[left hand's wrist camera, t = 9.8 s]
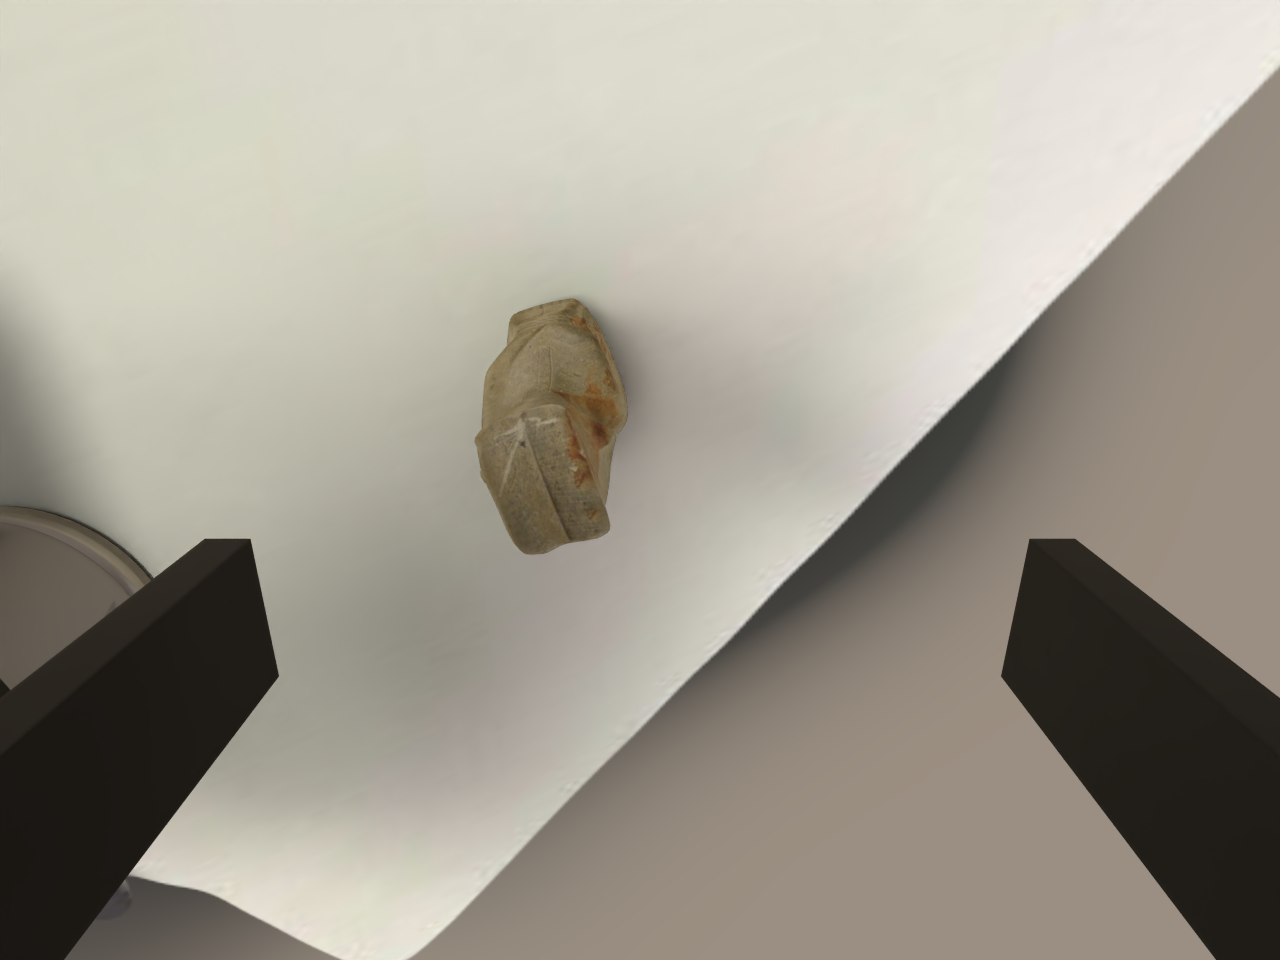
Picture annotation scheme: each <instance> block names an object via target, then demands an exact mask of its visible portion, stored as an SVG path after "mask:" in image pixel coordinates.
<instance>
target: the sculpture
mask: <svg viewBox="0 0 1280 960" xmlns="http://www.w3.org/2000/svg"><path fill="white" fill-rule="evenodd" d="M627 416H628V411H627V402H626V396H625V391H624V388H623V384H622V381H621V377H620V375H619V372H618V369H617V367H616V364H615V362H614V360H613V357H612V355H611V352H610V350H609V348H608V346H607V343H606V341H605V339H604V337H603V335H602V333H601V331H600V329H599V327H598V325H597V323H596V322H595V320H594V319H593V317H592V316H591V314H590V312H589V311H588V309H587V308H586V307H584V306H583V304H581V303H580V302H579V301H578V300H576V299H566V300H561V301H555V302H551V303H546V304H543V305H539V306H536V307H532V308H529V309H526V310H523V311H520V312H518V313H516V314H514V315H513V316H512V317H511V319H510V322H509V330H508V339H507V347H506V348H505V349H504V350H503V351H502V353H501V354H500V355H499V356H498V357H497V359H496V360H495V361H494V362H493V364H492V365H491V366H490V368H489V369H488V371H487V373H486V377H485V383H484V395H483V410H482V430H481V431H480V432H479V433H478V434H477V436H476V438H475V444H476V446H477V450H478V456H479V461H480V467H481V477H482V479H483V480H484V482H485V483H486V484H487V487H488V489H489V491H490V493H491V495H492V497H493V499H494V502H495V504H496V506H497V508H498V510H499V513H500V515H501V517H502V520H503V522H504V525H505V527H506V529H507V531H508V533H509V536H510V537H511V539H512V541H513V542H514V544H515V545H516V546H517V547H518V548H519V549H520V550H521V551H522V552H523V553H525V554H531V555H532V554H544V553H547V552H550V551H551V550H553V549H555V548H557V547H559V546H561V545H564V544H567V543H572V542H580V541H586V540H591V539H596V538H599V537H601V536H603V535H604V534H606V533H608V531H609V530H610V523H609V518H608V515H607V511H606V508H605V504H606V500H607V494H608V488H609V479H610V467H611V460H612V454H613V448H614V444H615V440H616V434H617V433H619V432H620V431H621V429H622V428H623V427H624V425H625V423H626V421H627Z"/></svg>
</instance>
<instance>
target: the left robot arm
mask: <svg viewBox="0 0 1280 960" xmlns="http://www.w3.org/2000/svg"><path fill="white" fill-rule="evenodd" d="M278 677H279V674H278V669H277V665H276V660H275V655H274V650H273V645H272V641H271V636H270V631H269V626H268V621H267V616H266V612H265V607H264V602H263V597H262V592H261V587H260V583H259V578H258V573H257V568H256V563H255V559H254V554H253V549H252V544H251V539H204V540H203V541H201V542H200V543H199V544H198V545H196V546H195V547H194V548H192V549H191V550H190V551H189V552H187V553H186V554H185V555H183V556H182V557H181V558H180V559H178V560H177V561H176V562H174V563H173V564H172V565H171V566H169V567H168V568H167V569H165V570H164V571H163V572H162V573H160V574H159V575H158V576H156V577H155V578H154V579H153V580H150V579H149V578H148V576H147V575H146V574H145V573H144V572H143V570H142V569H141V568H140V567H139V566H138V565H137V564H136V563H135V562H134V561H133V560H132V559H131V558H130V557H128V556H127V555H126V554H125V553H124V552H123V551H121V550H120V549H119V548H118V547H116V546H115V545H114V544H112V543H111V542H109V541H108V540H107V539H105V538H103V537H102V536H100V535H99V534H97V533H95V532H94V531H92V530H90V529H88V528H86V527H84V526H82V525H80V524H78V523H75V522H73V521H71V520H68V519H66V518H63V517H60V516H57V515H54V514H51V513H47V512H43V511H39V510H34V509H28V508H21V507H11V506H0V960H64V959H65V958H66V956H67V955H68V954H69V952H70V951H71V950H72V948H73V947H74V946H75V944H76V943H77V942H78V941H79V939H80V938H81V937H82V935H83V934H84V933H85V931H86V930H87V929H88V927H89V926H90V925H91V923H92V922H93V921H94V919H95V918H96V917H97V915H98V914H99V913H100V912H101V910H102V909H103V908H104V906H105V905H106V904H107V902H108V901H109V900H110V898H111V897H112V896H113V894H114V893H115V892H116V890H117V889H118V888H119V886H120V885H121V884H122V883H123V881H124V880H125V879H126V877H127V876H128V875H129V873H130V872H131V871H132V869H133V868H134V867H135V865H136V864H137V863H138V861H139V860H140V859H141V857H142V856H143V855H144V854H145V852H146V851H147V850H148V848H149V847H150V846H151V844H152V843H153V842H154V840H155V839H156V838H157V836H158V835H159V834H160V832H161V831H162V830H163V828H164V827H165V826H166V825H167V823H168V822H169V821H170V819H171V818H172V817H173V815H174V814H175V813H176V811H177V810H178V809H179V807H180V806H181V805H182V803H183V802H184V801H185V799H186V798H187V797H188V796H189V794H190V793H191V792H192V790H193V789H194V788H195V786H196V785H197V784H198V782H199V781H200V780H201V778H202V777H203V776H204V774H205V773H206V772H207V770H208V769H209V768H210V767H211V765H212V764H213V763H214V761H215V760H216V759H217V757H218V756H219V755H220V753H221V752H222V751H223V749H224V748H225V747H226V745H227V744H228V743H229V741H230V740H231V739H232V738H233V736H234V735H235V734H236V732H237V731H238V730H239V728H240V727H241V726H242V724H243V723H244V722H245V720H246V719H247V718H248V716H249V715H250V714H251V712H252V711H253V710H254V709H255V707H256V706H257V705H258V703H259V702H260V701H261V699H262V698H263V697H264V695H265V694H266V693H267V691H268V690H269V689H270V687H271V686H272V685H273V683H274V682H275V681H276V679H277V678H278ZM1001 677H1002V678H1003V679H1004V681H1005V682H1006V683H1007V685H1008V686H1009V687H1010V689H1011V690H1012V691H1013V693H1014V694H1015V695H1016V697H1017V698H1018V699H1019V701H1020V702H1021V703H1022V704H1023V706H1024V707H1025V708H1026V710H1027V711H1028V712H1029V714H1030V715H1031V716H1032V718H1033V719H1034V720H1035V722H1036V723H1037V724H1038V726H1039V727H1040V728H1041V730H1042V731H1043V732H1044V734H1045V735H1046V736H1047V737H1048V739H1049V740H1050V741H1051V743H1052V744H1053V745H1054V747H1055V748H1056V749H1057V751H1058V752H1059V753H1060V755H1061V756H1062V757H1063V759H1064V760H1065V761H1066V763H1067V764H1068V765H1069V766H1070V768H1071V769H1072V770H1073V772H1074V773H1075V774H1076V776H1077V777H1078V778H1079V780H1080V781H1081V782H1082V784H1083V785H1084V786H1085V787H1086V789H1087V790H1088V792H1089V793H1090V794H1091V795H1092V797H1093V798H1094V799H1095V801H1096V802H1097V803H1098V805H1099V806H1100V807H1101V809H1102V810H1103V811H1104V813H1105V814H1106V815H1107V817H1108V818H1109V819H1110V821H1111V822H1112V823H1113V825H1114V826H1115V827H1116V828H1117V830H1118V831H1119V832H1120V834H1121V835H1122V836H1123V838H1124V839H1125V840H1126V842H1127V843H1128V844H1129V846H1130V847H1131V848H1132V850H1133V851H1134V852H1135V854H1136V855H1137V856H1138V857H1139V859H1140V860H1141V861H1142V863H1143V864H1144V865H1145V867H1146V868H1147V869H1148V871H1149V872H1150V873H1151V875H1152V876H1153V877H1154V879H1155V880H1156V881H1157V883H1158V884H1159V885H1160V886H1161V888H1162V889H1163V890H1164V892H1165V893H1166V894H1167V896H1168V897H1169V898H1170V900H1171V901H1172V902H1173V904H1174V905H1175V906H1176V907H1177V909H1178V910H1179V912H1180V913H1181V914H1182V915H1183V917H1184V918H1185V919H1186V921H1187V922H1188V923H1189V925H1190V926H1191V927H1192V929H1193V930H1194V931H1195V933H1196V934H1197V935H1198V937H1199V938H1200V939H1201V941H1202V942H1203V943H1204V944H1205V946H1206V947H1207V948H1208V950H1209V951H1210V952H1211V954H1212V955H1213V956H1214V958H1215V959H1216V960H1280V698H1279V697H1278V696H1276V695H1275V694H1274V693H1272V692H1271V691H1270V690H1269V689H1267V688H1266V687H1265V686H1264V685H1262V684H1261V683H1260V682H1258V681H1257V680H1256V679H1255V678H1253V677H1252V676H1251V675H1249V674H1248V673H1247V672H1246V671H1244V670H1243V669H1242V668H1240V667H1239V666H1238V665H1237V664H1235V663H1234V662H1233V661H1231V660H1230V659H1229V658H1228V657H1226V656H1225V655H1224V654H1222V653H1221V652H1220V651H1219V650H1217V649H1216V648H1215V647H1213V646H1212V645H1211V644H1210V643H1208V642H1207V641H1206V640H1204V639H1203V638H1202V637H1201V636H1199V635H1198V634H1197V633H1195V632H1194V631H1193V630H1192V629H1190V628H1189V627H1188V626H1186V625H1185V624H1184V623H1183V622H1181V621H1180V620H1179V619H1177V618H1176V617H1175V616H1174V615H1172V614H1171V613H1170V612H1168V611H1167V610H1166V609H1165V608H1163V607H1162V606H1161V605H1159V604H1158V603H1157V602H1156V601H1154V600H1153V599H1152V598H1150V597H1149V596H1148V595H1147V594H1145V593H1144V592H1143V591H1141V590H1140V589H1139V588H1138V587H1136V586H1135V585H1134V584H1132V583H1131V582H1130V581H1129V580H1127V579H1126V578H1125V577H1124V576H1122V575H1121V574H1120V573H1118V572H1117V571H1116V570H1114V569H1113V568H1112V567H1111V566H1109V565H1108V564H1107V563H1105V562H1104V561H1103V560H1102V559H1100V558H1099V557H1098V556H1097V555H1095V554H1094V553H1093V552H1091V551H1090V550H1089V549H1088V548H1086V547H1085V546H1084V545H1082V544H1081V543H1080V542H1079V541H1077V540H1076V539H1029V544H1028V549H1027V554H1026V559H1025V563H1024V568H1023V573H1022V578H1021V583H1020V587H1019V593H1018V597H1017V602H1016V607H1015V612H1014V616H1013V621H1012V626H1011V631H1010V636H1009V641H1008V645H1007V650H1006V655H1005V660H1004V665H1003V669H1002V674H1001Z"/></svg>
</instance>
